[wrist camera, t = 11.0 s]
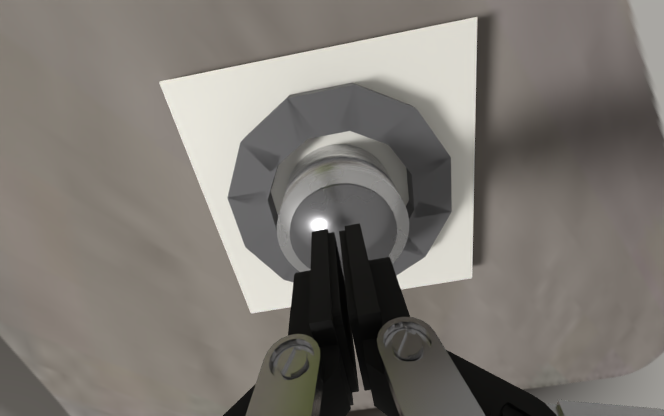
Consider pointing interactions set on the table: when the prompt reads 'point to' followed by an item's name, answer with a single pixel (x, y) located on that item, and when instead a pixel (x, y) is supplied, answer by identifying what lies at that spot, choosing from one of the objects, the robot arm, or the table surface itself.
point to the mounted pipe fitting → (338, 128)
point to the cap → (341, 204)
